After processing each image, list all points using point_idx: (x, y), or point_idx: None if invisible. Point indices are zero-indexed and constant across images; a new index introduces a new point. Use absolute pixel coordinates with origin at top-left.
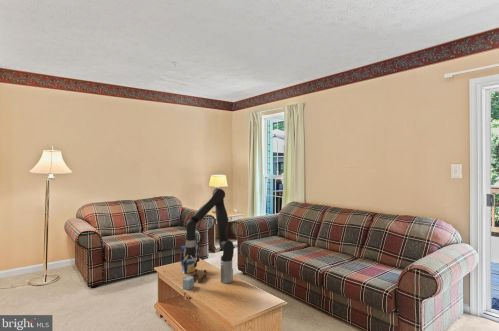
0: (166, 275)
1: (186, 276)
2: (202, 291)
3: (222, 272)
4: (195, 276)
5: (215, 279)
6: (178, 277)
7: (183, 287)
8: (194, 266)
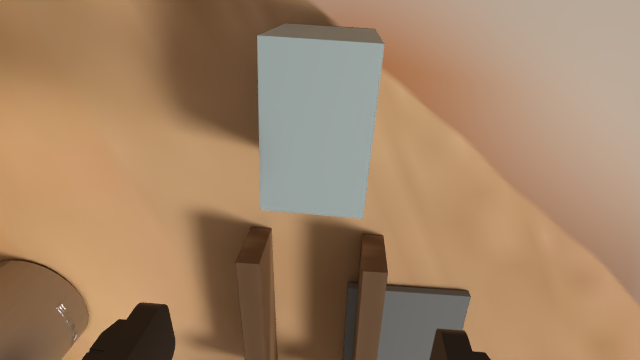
0: None
1: None
2: (94, 11)
3: None
4: (353, 345)
5: None
6: (536, 322)
7: (366, 30)
8: (145, 319)
